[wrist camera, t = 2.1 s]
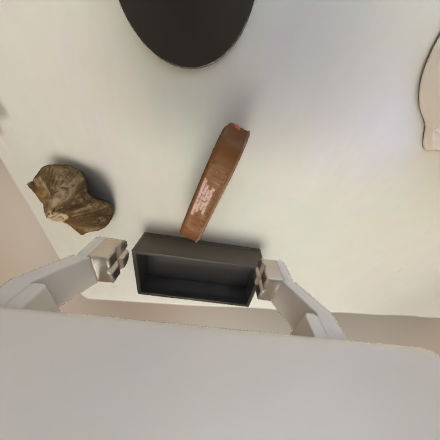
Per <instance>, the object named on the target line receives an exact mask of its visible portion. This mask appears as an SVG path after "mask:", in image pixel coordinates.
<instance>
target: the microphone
mask: <svg viewBox="0 0 440 440" xmlns="http://www.w3.org/2000/svg"><path fill="white" fill-rule="evenodd" d="M119 2H120V4H121V7H122V9H123V11H124V13H125V15H126V17H127V19H128V21H129V22H130V24H131V26H132V27H133V29H134V30H135V32H136V33H137V35H138V36H139V37H140V39H141V40H142V41H143V42H144V43H145V45H146V46H147V47H148V48H149V49H150V50H151V51H153V52H154V53H155V54H156V55H157V56H158V57H160V58H161V59H163V60H164V61H166V62H168V63H170V64H172V65H174V66H177V67H181V68H187V69H196V68H202V67H205V66H208V65H210V64H213V63H214V62H216V61H218V60H219V59H220V58H222V57H223V56H224V55H225V54H226V53H227V52H228V51H229V50H230V49H231V48H232V47H233V45H234V44H235V43H236V41H237V40H238V38H239V36H240V35H241V33H242V31H243V29H244V27H245V25H246V23H247V21H248V18H249V15H250V12H251V9H252V6H253V2H254V0H119Z"/></svg>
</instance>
